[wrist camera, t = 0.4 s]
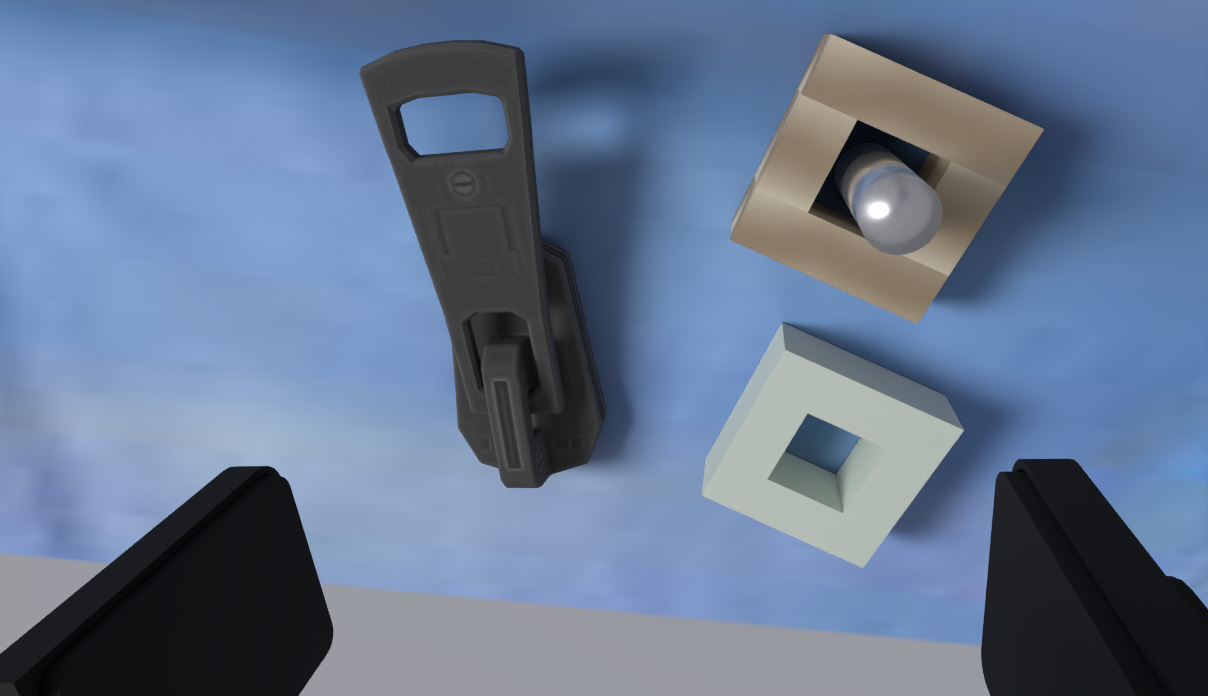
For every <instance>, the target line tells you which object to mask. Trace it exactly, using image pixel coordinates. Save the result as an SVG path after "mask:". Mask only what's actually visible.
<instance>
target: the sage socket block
mask: <svg viewBox="0 0 1208 696" xmlns="http://www.w3.org/2000/svg"><path fill="white" fill-rule="evenodd" d="M807 414H810V415H813V416H815V417H817V418H819V419H821V420H824V421H826V422H828V423H830V424H833V425H835V426H837V427H839V428H841V429H844V430H846V431H848V432H850V433H853V434H855V435H857V436H859V437H861V438H860V439H859V441H858V442H857V444H856V445H855V447H854V448H853V450H852V451H851V453H850V454H849V456H848V457H847V459H846V460H845V462H844V463H843V465H842V466H841V468H840V469H839V471H838V472H837V474H834V473H831V472H829V471H827V470H825V469H823V468H820V467H818V466H816V465H814V464H811V463H809V462H807V461H805V460H803V459H800V458H798V457H796V456H794V455H791V454H789V453H787V452H785V450H786V448H787V446H788V445H789V443H790V441H791V440H792V438H793V436H794V435H795V433H796V432H797V430H798V428H799V427H800V425H801V423H802V422H803V420H804V419H805V417H806V415H807ZM963 431H964V429H963V427H962V425H961V423H960V421H959V420H958V418H957V416H956V414H955V412H954V410H953V408H952V406H951V405H950V403H949V401H948V399H947V397H946V396H945V395H943V394H941V393H939V392H937V391H934V390H932V389H930V388H928V387H925V386H923V385H921V384H919V383H916V382H914V381H912V380H910V379H908V378H905V377H903V376H901V375H899V374H896V373H894V372H892V371H890V370H888V369H885V368H883V367H881V366H879V365H876V364H874V363H872V362H870V361H868V360H865V359H863V358H861V357H859V356H856V355H854V354H852V353H850V352H847V351H845V350H843V349H841V348H839V347H836V346H834V345H832V344H830V343H827V342H825V341H823V340H821V339H819V338H816V337H814V336H812V335H810V334H807V333H805V332H803V331H801V330H799V329H796V328H794V327H792V326H790V325H787V324H785V323H783V322H782V323H781V325H780V327H779V329H778V330H777V332H776V334H775V336H774V338H773V339H772V341H771V343H770V345H769V346H768V348H767V350H766V352H765V354H764V355H763V357H762V359H761V361H760V363H759V364H758V366H757V368H756V370H755V372H754V373H753V375H752V377H751V379H750V380H749V382H748V384H747V386H746V388H745V389H744V391H743V393H742V395H741V397H740V398H739V400H738V402H737V404H736V406H735V407H734V409H733V411H732V413H731V414H730V416H729V418H728V420H727V422H726V423H725V425H724V427H723V429H722V431H721V432H720V434H719V436H718V438H717V440H716V441H715V443H714V445H713V447H712V448H711V450H710V452H709V454H708V456H707V457H706V460H705V470H704V479H703V489H702V496H704V497H706V498H708V499H711V500H713V501H715V502H717V503H720V504H722V505H724V506H726V507H728V508H731V509H733V510H735V511H737V512H740V513H742V514H744V515H746V516H748V517H751V518H753V519H755V520H757V521H759V522H762V523H764V524H766V525H768V526H771V527H773V528H775V529H777V530H779V531H782V532H784V533H786V534H788V535H791V536H793V537H795V538H797V539H799V540H802V541H804V542H806V543H808V544H810V545H813V546H815V547H817V548H819V549H822V550H824V551H826V552H828V553H830V554H833V555H835V556H837V557H839V558H842V559H844V560H846V561H848V562H850V563H853V564H855V565H857V566H859V567H861V568H863V567H864V566H865V565H866V563H867V562H868V561H869V559H870V558H871V556H872V555H873V554H874V552H875V551H876V550H877V548H878V547H879V546H880V544H881V543H882V541H883V540H884V539H885V537H886V536H887V535H888V533H889V532H890V531H891V529H892V528H893V527H894V525H895V524H896V522H897V521H898V520H899V518H900V517H901V516H902V514H903V513H904V512H905V510H906V509H907V507H908V506H909V505H910V503H911V502H912V501H913V499H914V498H915V497H916V495H917V494H918V492H919V491H920V490H921V488H922V487H923V486H924V484H925V483H926V482H927V480H928V479H929V478H930V476H931V475H932V473H933V472H934V471H935V469H936V468H937V467H938V465H939V464H940V463H941V461H942V460H943V458H944V457H945V456H946V454H947V453H948V452H949V450H950V449H951V448H952V446H953V445H954V443H955V442H956V441H957V439H958V438H959V437H960V435H961V434H962V433H963Z"/></svg>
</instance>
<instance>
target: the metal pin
mask: <svg viewBox="0 0 1208 696" xmlns="http://www.w3.org/2000/svg"><path fill="white" fill-rule="evenodd" d="M835 182H836V185H837V187H838V189H839V191H840V193H841V195H842V197H843V198H844V200H845V202H846V204H847V206H848V207H849V209H850V211H851V213H852V215H853V217H854V218H855V220H856V222H857V224H858V226H859V227H860V229H861V231H862V233H863V235H864V237H865V238H866V240H867V241H868V242H869V244H870V245H872V246H873V247H874V248H875V249H877V250H879V251H881V252H883V253H886V254H891V255H904V254H909V253H912V252H915V251H917V250H919V249H921V248H922V247H924V246H925V245H927V244H928V243H929V242H930V241H931V240H932V239H933V238H934V236H935V235H936V233H937V232H938V230H939V228H940V225H941V222H942V216H943V209H942V204H941V201H940V198H939V196H938V195H937V193H936V192H935V191H934V190H933V189H932V188H931V187H930V186H929V185H928V184H927V183H926V182H925V181H923V180H922V179H921V178H920V177H919V176H918V175H916V174H915V173H914V172H913V171H912V170H911V169H910V168H908V167H907V166H906V165H905V164H904V163H903V162H902V161H900V160H899V159H898V158H897V157H896V156H895V155H894V154H892V153H891V152H890V151H889V150H888V149H886V148H885V147H884V146H882V145H879V144H876V143H861V144H858V145H855V146H853V147H851V148H850V149H848V150H847V151H846V152H845V153H844V154H843V155H842V156H841V158H840V159H839V161H838V163H837V165H836V169H835Z"/></svg>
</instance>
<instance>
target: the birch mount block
mask: <svg viewBox="0 0 1208 696" xmlns="http://www.w3.org/2000/svg"><path fill="white" fill-rule="evenodd" d="M857 120H859V121H862V122H864V123H866V124H868V125H870V126H873V127H875V128H877V129H879V130H882V131H884V132H886V133H888V134H891V135H893V136H895V137H897V138H900V139H902V140H904V141H906V142H908V143H911V144H913V145H915V146H917V147H920V148H922V149H924V150H926V151H929V152H930V153H929V155H928V157H927V158H926V160H925V162H924V163H923V165H922V167H921V168H920V170H919V172H918V174H917V175H918V176H919V177H920V178H921V179H922V180H923V181H925V182H926V183H927V184H928V185H929V186H930V187H931V188H932V189H933V190H934V191H935V192H936V193H937V195H938V196H939V198H940V201H941V204H942V209H943V216H942V222H941V225H940V228H939V230H938V232H937V233H936V235H935V236H934V238H933V239H932V240H931V241H930V242H929V243H928V244H927V245H925V246H924V247H922V248H921V249H919V250H917V251H915V252H912V253H909V254H904V255H891V254H886V253H883V252H881V251H879V250H877V249H875V248H874V247H873V246H872V245H870V244H869V242H868V241H867V240H866V238H865V237H864V235H863V233H862V231H861V229H860V227H859V226H858V224H857V222H856V220H855V219H853V218H851V217H848V216H846V215H844V214H842V213H840V212H837V211H835V210H833V209H831V208H828V207H826V206H824V205H822V204H819V203H817V202H815V201H814V200H815V198H816V196H817V194H818V192H819V190H820V189H821V187H822V185H823V183H824V181H825V179H826V177H827V176H828V174H829V172H830V170H831V168H832V166H833V164H834V163H835V161H836V159H837V157H838V155H839V153H840V151H841V149H842V148H843V146H844V144H845V142H846V140H847V138H848V136H849V135H850V133H851V131H852V129H853V127H854V125H855V123H856V122H857ZM1043 130H1044V129H1043V128H1041V127H1039V126H1036V125H1034V124H1032V123H1030V122H1028V121H1025V120H1023V119H1021V118H1019V117H1016V116H1014V115H1012V114H1010V113H1007V112H1005V111H1003V110H1001V109H998V108H996V107H994V106H992V105H989V104H987V103H985V102H983V101H981V100H978V99H976V98H974V97H972V96H969V95H967V94H965V93H963V92H960V91H958V90H956V89H954V88H951V87H949V86H947V85H945V84H942V83H940V82H938V81H936V80H934V79H931V78H929V77H927V76H925V75H922V74H920V73H918V72H916V71H913V70H911V69H909V68H907V67H904V66H902V65H900V64H898V63H896V62H893V61H891V60H889V59H887V58H884V57H882V56H880V55H878V54H875V53H873V52H871V51H869V50H866V49H864V48H862V47H860V46H857V45H855V44H853V43H851V42H849V41H846V40H844V39H842V38H840V37H837V36H835V35H833V34H824V35H823V37H822V39H821V42H820V44H819V46H818V48H817V50H816V52H815V54H814V56H813V58H812V60H811V62H810V64H809V66H808V68H807V70H806V72H805V74H804V76H803V78H802V80H801V82H800V84H799V86H798V88H797V90H796V92H795V94H794V96H793V98H792V100H791V102H790V105H789V107H788V109H787V111H786V113H785V115H784V117H783V119H782V121H781V123H780V125H779V127H778V129H777V131H776V133H775V135H774V137H773V139H772V141H771V143H770V145H769V147H768V149H767V151H766V153H765V155H764V157H763V159H762V161H761V163H760V165H759V168H758V170H757V172H756V174H755V176H754V178H753V180H752V182H751V184H750V186H749V188H748V190H747V192H746V194H745V196H744V198H743V200H742V202H741V204H740V206H739V208H738V210H737V212H736V214H735V216H734V218H733V220H732V227H731V237H730V240H731V241H733V242H736V243H738V244H740V245H742V246H745V247H747V248H749V249H751V250H754V251H756V252H758V253H760V254H762V255H765V256H767V257H769V258H771V259H774V260H776V261H778V262H780V263H782V264H785V265H787V266H789V267H791V268H794V269H796V270H798V271H800V272H803V273H805V274H807V275H809V276H811V277H814V278H816V279H818V280H820V281H823V282H825V283H827V284H829V285H832V286H834V287H836V288H838V289H840V290H843V291H845V292H847V293H849V294H852V295H854V296H856V297H858V298H860V299H863V300H865V301H867V302H869V303H872V304H874V305H876V306H878V307H881V308H883V309H885V310H887V311H889V312H892V313H894V314H896V315H898V316H901V317H903V318H905V319H907V320H909V321H912V322H914V323H916V324H918V322H919V321H920V319H921V318H922V316H923V315H924V313H925V312H926V310H927V309H928V307H929V306H930V304H931V303H932V301H933V299H934V298H935V296H936V295H937V293H938V292H939V290H940V289H941V287H942V286H943V284H944V283H945V281H946V279H947V278H948V276H949V275H950V273H951V272H952V270H953V269H954V267H955V266H956V264H957V263H958V261H959V259H960V258H961V256H962V255H963V253H964V252H965V250H966V249H967V247H968V246H969V244H970V243H971V241H972V240H973V238H974V236H975V235H976V233H977V232H978V230H979V229H980V227H981V226H982V224H983V223H984V221H985V220H986V218H987V216H988V215H989V213H990V212H991V210H992V209H993V207H994V206H995V204H996V203H997V201H998V200H999V198H1000V196H1001V195H1002V193H1003V192H1004V190H1005V189H1006V187H1007V186H1008V184H1009V183H1010V181H1011V180H1012V178H1013V177H1014V175H1015V173H1016V172H1017V170H1018V169H1019V167H1020V166H1021V164H1022V163H1023V161H1024V160H1025V158H1026V157H1027V155H1028V153H1029V152H1030V150H1031V149H1032V147H1033V146H1034V144H1035V143H1036V141H1037V140H1038V138H1039V137H1040V135H1041V133H1042V132H1043Z"/></svg>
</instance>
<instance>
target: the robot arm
mask: <svg viewBox="0 0 1208 696" xmlns="http://www.w3.org/2000/svg"><path fill="white" fill-rule="evenodd" d="M332 639H333V626H332V621H331V618H330V615H329V611H328V608H327V605H326V601H325V598H324V595H323V592H322V588H321V585H320V582H319V579H318V575H317V572H316V569H315V565H314V562H313V559H312V556H311V552H310V549H309V546H308V543H307V539H306V536H305V533H304V530H303V526H302V523H301V520H300V516H299V513H298V510H297V507H296V503H295V500H294V497H293V494H292V490H291V487H290V485H289V483H288V481H287V480H286V479H285V478H284V477H281V476H280V475H279V473H278V472H277V471H276V470H275V469H274V468H272V467H269V466H242V467H229V468H228V469H226V470H224V471H223V472H222V473H220V474H219V475H218V476H217V477H215V478H214V479H213V480H212V481H211V482H209V483H208V484H207V485H206V486H204V487H203V488H202V489H201V490H200V491H198V492H197V493H196V494H195V495H193V496H192V497H191V498H190V499H189V500H187V501H186V502H185V503H184V504H183V505H181V506H180V507H179V508H178V509H176V510H175V511H174V512H173V513H172V514H170V515H169V516H168V517H167V518H165V519H164V520H163V521H162V522H161V523H159V524H158V525H157V526H156V527H154V528H153V529H152V530H151V531H150V532H148V533H147V534H146V535H145V536H143V537H142V538H141V539H140V540H139V541H137V542H136V543H135V544H134V545H133V546H131V547H130V548H129V549H128V550H126V551H125V552H124V553H123V554H122V555H120V556H119V557H118V558H117V559H115V560H114V561H113V562H112V563H111V564H109V565H108V566H107V567H106V568H104V569H103V570H102V571H101V572H100V573H98V574H97V575H96V576H95V577H94V578H92V579H91V580H90V581H89V582H87V583H86V584H85V585H84V586H83V587H81V588H80V589H79V590H78V591H76V592H75V593H74V594H73V595H72V596H70V597H69V598H68V599H67V600H66V601H64V602H63V603H62V604H61V605H59V606H58V607H57V608H56V609H55V610H53V611H52V612H51V613H50V614H48V615H47V616H46V617H45V618H44V619H42V620H41V621H40V622H39V623H37V624H36V625H35V626H34V627H33V628H31V629H30V630H29V631H28V632H27V633H25V634H24V635H23V636H22V637H20V638H19V639H18V640H17V641H15V642H14V643H13V644H12V645H11V646H9V647H8V648H7V649H6V650H5V651H3V652H2V653H1V654H0V696H299V694H300V693H301V691H302V690H303V688H304V687H305V685H306V684H307V682H308V681H309V679H310V678H311V677H312V675H313V674H314V672H315V671H316V669H317V668H318V666H319V665H320V663H321V662H322V661H323V659H324V658H325V656H326V655H327V653H328V651H329V649H330V647H331V644H332ZM981 658H982V668H983V673H984V678H985V682H986V685H987V688H988V690H989V693H990V696H1208V609H1207V608H1206V606H1205V605H1204V604H1203V603H1202V601H1201V600H1200V599H1199V598H1198V596H1197V595H1196V594H1195V593H1194V592H1193V590H1192V589H1191V588H1190V587H1188V586H1187V585H1186V584H1185V583H1184V582H1183V581H1182V580H1180V579H1177V578H1175V577H1172V576H1166V575H1165V574H1164V573H1163V571H1162V570H1161V569H1160V567H1159V566H1158V565H1157V564H1156V562H1155V561H1154V560H1153V558H1152V557H1151V556H1150V555H1149V553H1148V552H1147V551H1146V550H1145V548H1144V547H1143V546H1142V544H1141V543H1140V542H1139V541H1138V539H1137V538H1136V537H1135V535H1134V534H1133V533H1132V532H1131V530H1130V529H1129V528H1128V527H1127V525H1126V524H1125V523H1124V521H1123V520H1122V519H1121V518H1120V516H1119V515H1118V514H1117V512H1116V511H1115V510H1114V509H1113V507H1112V506H1111V505H1110V503H1109V502H1108V501H1107V500H1106V498H1105V497H1104V496H1103V495H1102V493H1101V492H1100V491H1099V489H1098V488H1097V487H1096V486H1095V484H1094V483H1093V482H1092V480H1091V479H1090V478H1089V477H1088V475H1087V474H1086V473H1085V472H1084V470H1083V469H1082V468H1081V466H1080V465H1079V464H1078V463H1077V462H1076V461H1075V460H1074V459H1018V460H1017V461H1016V462H1015V464H1014V467H1013V471H1012V472H1000V473H999V474H998V476H997V478H996V485H995V496H994V508H993V519H992V531H991V543H990V554H989V566H988V578H987V589H986V601H985V612H984V624H983V636H982V647H981Z"/></svg>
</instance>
